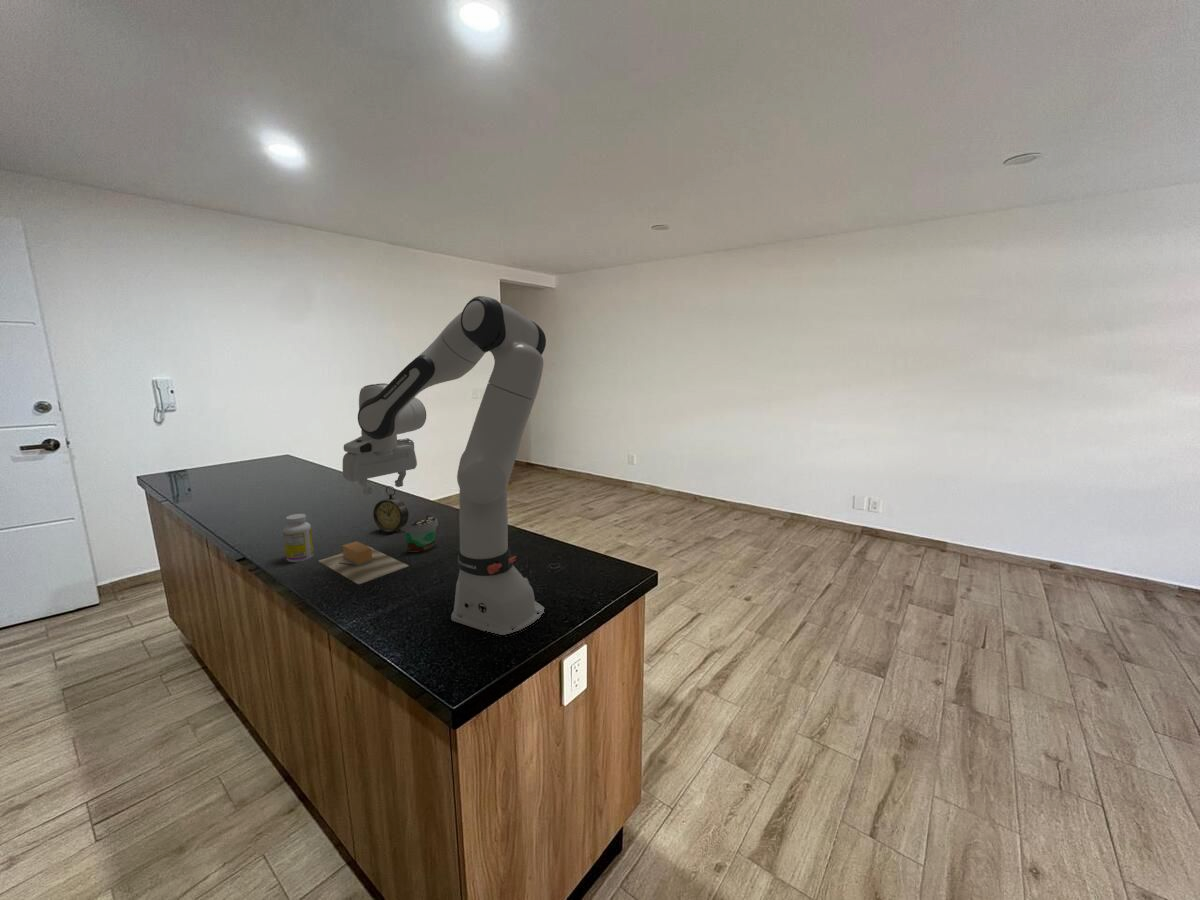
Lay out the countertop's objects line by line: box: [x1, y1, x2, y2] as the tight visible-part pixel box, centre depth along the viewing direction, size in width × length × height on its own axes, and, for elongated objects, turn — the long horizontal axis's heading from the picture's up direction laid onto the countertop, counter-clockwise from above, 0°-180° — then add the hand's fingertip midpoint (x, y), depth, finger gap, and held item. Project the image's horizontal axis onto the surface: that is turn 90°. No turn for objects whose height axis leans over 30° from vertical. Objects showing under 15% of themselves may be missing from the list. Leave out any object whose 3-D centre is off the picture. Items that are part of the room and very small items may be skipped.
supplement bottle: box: [282, 513, 314, 563], centre depth 130 cm, size 7×7×13 cm
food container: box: [404, 513, 439, 553], centre depth 139 cm, size 12×6×10 cm, turn 168°
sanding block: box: [342, 541, 372, 566], centre depth 128 cm, size 8×4×4 cm, turn 55°
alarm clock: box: [372, 485, 409, 533], centre depth 152 cm, size 11×5×16 cm, turn 76°
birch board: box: [318, 545, 409, 585], centre depth 127 cm, size 22×14×2 cm, turn 55°
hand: (384, 490), depth 129 cm, fingers open, 8 cm apart
